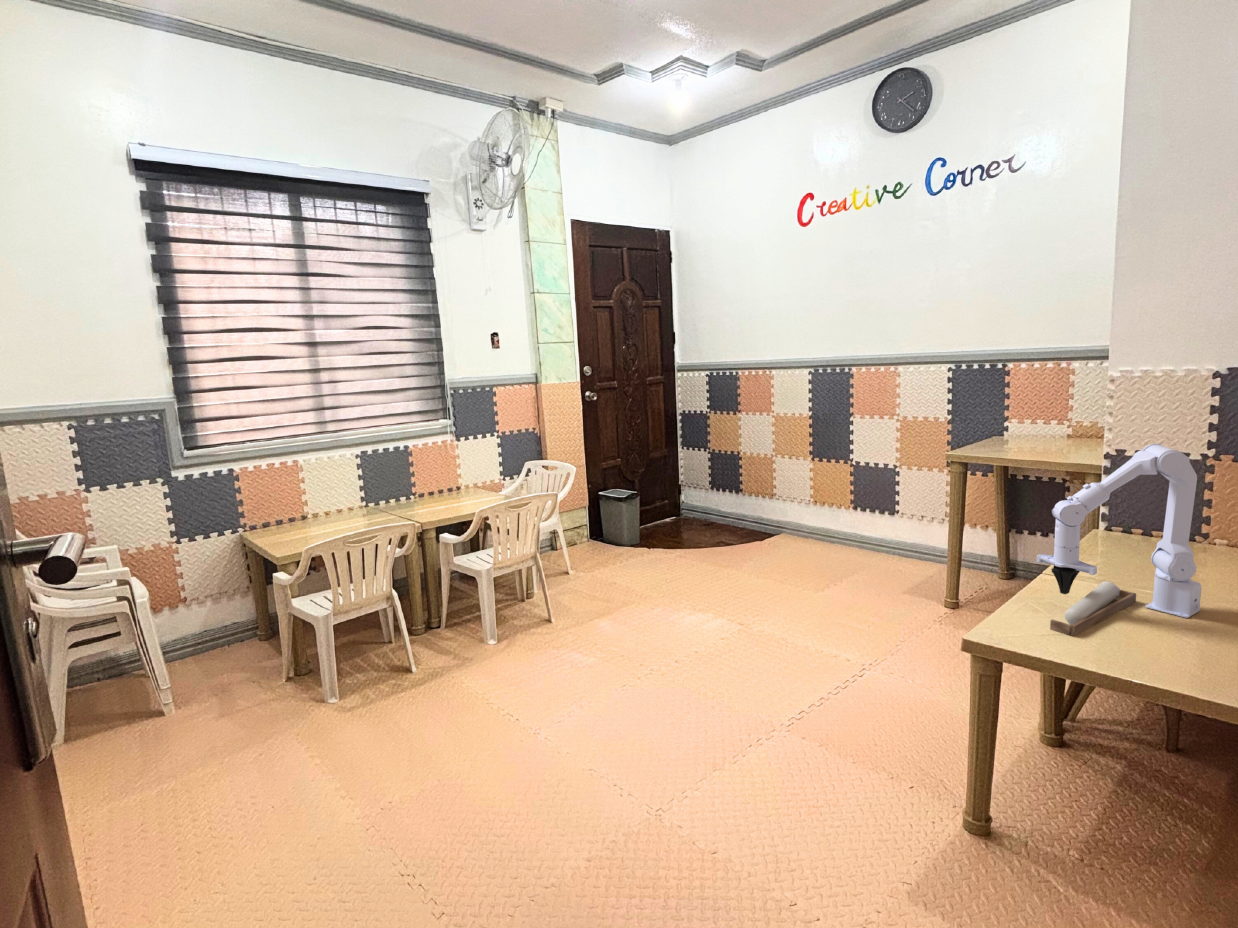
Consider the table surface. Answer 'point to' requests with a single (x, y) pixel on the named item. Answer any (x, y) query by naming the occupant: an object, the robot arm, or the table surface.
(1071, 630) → the bay
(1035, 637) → the table surface
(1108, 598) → the tube
